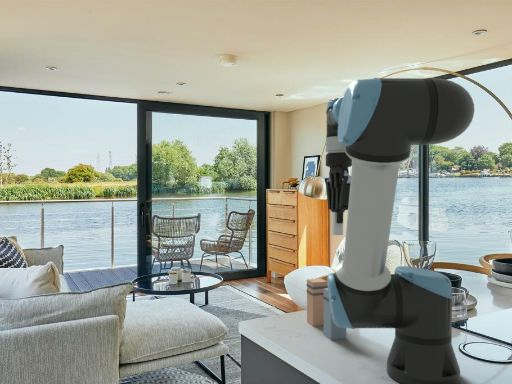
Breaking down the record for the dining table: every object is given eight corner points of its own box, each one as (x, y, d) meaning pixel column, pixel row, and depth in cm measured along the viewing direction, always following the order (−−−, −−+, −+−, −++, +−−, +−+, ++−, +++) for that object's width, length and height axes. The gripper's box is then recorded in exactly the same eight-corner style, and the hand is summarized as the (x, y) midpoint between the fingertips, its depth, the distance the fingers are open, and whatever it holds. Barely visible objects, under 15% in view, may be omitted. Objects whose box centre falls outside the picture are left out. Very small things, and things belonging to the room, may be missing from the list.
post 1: (320, 320, 135) (320, 278, 135) (327, 324, 130) (327, 281, 130) (306, 321, 133) (306, 279, 133) (312, 326, 129) (312, 282, 129)
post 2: (338, 332, 123) (338, 287, 123) (346, 338, 119) (346, 291, 118) (323, 334, 122) (323, 288, 122) (330, 340, 117) (330, 292, 117)
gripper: (362, 151, 121) (361, 236, 120) (339, 156, 133) (337, 233, 132) (338, 149, 118) (336, 236, 118) (317, 154, 131) (315, 233, 130)
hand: (337, 234), depth 125 cm, fingers closed
